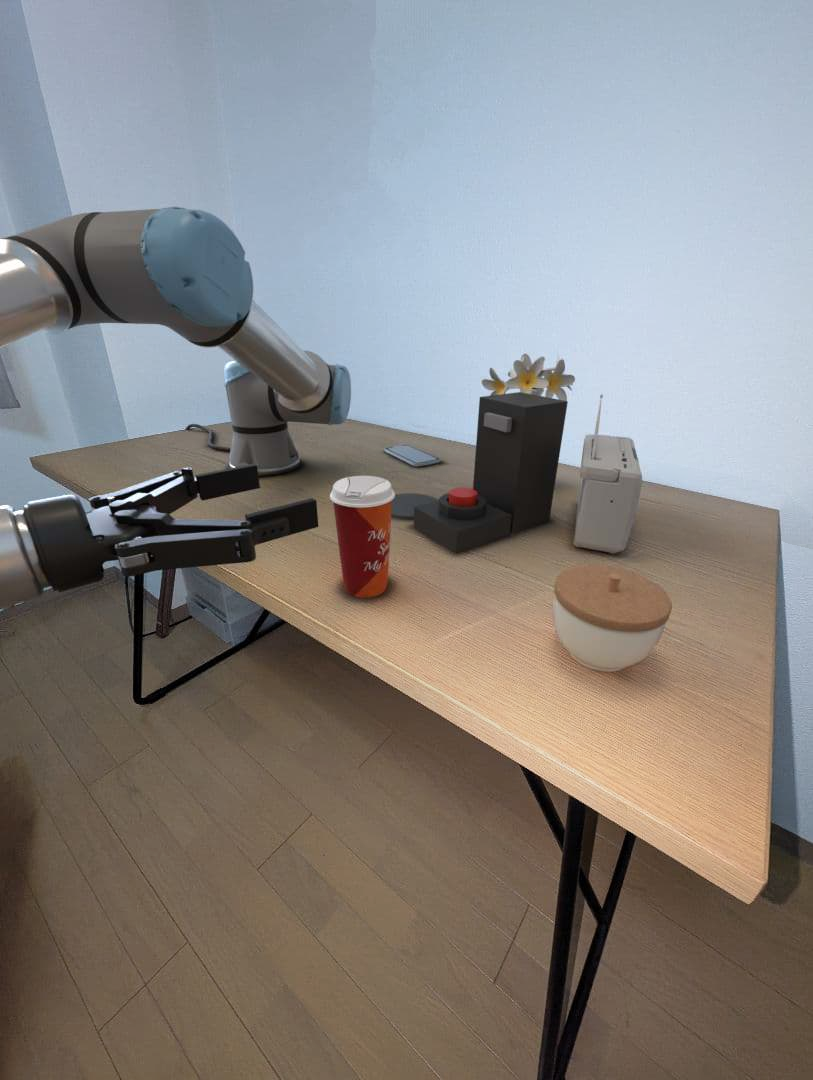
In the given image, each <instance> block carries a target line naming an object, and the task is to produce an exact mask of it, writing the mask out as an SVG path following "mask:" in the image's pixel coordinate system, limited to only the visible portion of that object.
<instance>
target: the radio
mask: <svg viewBox="0 0 813 1080" xmlns="http://www.w3.org/2000/svg"><path fill="white" fill-rule="evenodd" d="M599 398H600V400H599V405H598V411H597V416H596V421H595V428H594V434H591V433H589V434H585V436H584V439H583V445H582V453H581V463H580V469H579V473H580V474H579V475H580V478H581V484H580V490H579V496H578V501H577V509H576V510H577V511H576V519H575V528H574V536H573V546H574V547H576V548H584V549H588V550H594V551H599V552H606V553H609V554H612V555H613V554H617V553H618V552H623V551H624V550H625V549H626V548H627V544H628V541H629V539H630V535H631V531H632V528H633V525H634V521H635V516H636V513H637V509H638V506H639V501H640V496H641V490H642V485H643V475H642V470H641V466H640V463H639V462H640V461H639V459H638V454H637V450H636V446H635V443H634V439H632V438H631V437H627V436H615V435H614V436H613V435H608V434H607V435H604V434H599V428H600V419H601V410H602V399H603V398H604V394H603V393H602V394H600V395H599Z"/></svg>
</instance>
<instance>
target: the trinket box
mask: <svg viewBox="0 0 813 1080" xmlns="http://www.w3.org/2000/svg"><path fill="white" fill-rule="evenodd" d="M672 609H673V605H672V601H671V598H670V596H669V594H668V593H667V592H666V591H665V590H664V589H663V588H662V587H661V586H660V585H659V584H657V583H656V582H654V581H653V580H652V579H649V578H647V577H646V576H644V575H641V574H640V573H636V572H634V571H631V570H628V569H625V568H621V567H616V566H613V565H612V566H611V565H603V564H581V565H576V566H575V565H574V566H572V567H568V568H567V569H564V570H562V572H561V573H560V574H559V575H557V577H556V579H555V583H554V595H553V603H552V618H553V619H552V620H553V627H554V630H555V633H556V636H557V637H558V639H559V641H560V643H561V644H562V646H563V647H564V649H565V650H566V651H567V652H568V654H569V655H570V657H571V658H572V659H573V660H574V661H576V662H577V663H578V664H580V665H582V666H583V667H584V668H588V669H590V670H592V671H597V672H602V673H613V672H618V671H621V670H623V669H625V668H628V667H633V666H634V665H636V664H638V663H640V662H642V661H643V660H644V659H646V658H647V657H648V656H649V655H650V654H651V653H652V652H653V650H654V648H655V647H656V646H657V644H658V643H659V641H660V639H661V637H662V634H663V632H664V629H665V626H666V623H667V621H669V618H670V616H671V613H672Z"/></svg>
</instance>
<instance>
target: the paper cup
mask: <svg viewBox="0 0 813 1080" xmlns="http://www.w3.org/2000/svg"><path fill="white" fill-rule="evenodd" d="M395 495H396V493H395V491H394V489H393V487H392V484H391V482H390V481H389V480H388V479H386V478H383V477H379V476H375V475H354V476H348V477H344V478H343V477H342V478H340V479H338V480H336V481H335V482H334V483H333V486H332V490H331V492H330V494H329V499H330V500H331V502H333V504H332V505H333V511H334V520H335V526H336V527H335V528H336V535H337V543H338V551H339V559H340V566H341V575H342V581H343V586H344V590H345V592H346V593H347V594H348V595H350V596H353V597H356V598H360V599H361V598H364V599H365V598H366V599H367V598H373V597H377V596H379V595H381V594H383V593H384V592H385V591H386V589H387V588H388V581H389V565H390V549H391V548H390V547H391V532H392V531H391V528H392V517H391V512H392V500H393V499H394V497H395Z"/></svg>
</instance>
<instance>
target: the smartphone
mask: <svg viewBox="0 0 813 1080" xmlns="http://www.w3.org/2000/svg"><path fill="white" fill-rule="evenodd" d="M384 452H385V453H387V454H389V455H390V456H393V457H394V458H397V459H399V460H401V461H403V462H404V463H407V464H409V465H411V466H413V467H416V468H417V467H419V468H420V467H422V466H423V467H424V466H429V465H434V464H439V463H441V458H440V457H438V456H436V455H433V454H431V453H429V452H427V451H425V450H422V449H420V448H419V447H418V448H417V447H415V446H413V445H411V444H399V445H394V446H387V447H384Z"/></svg>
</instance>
